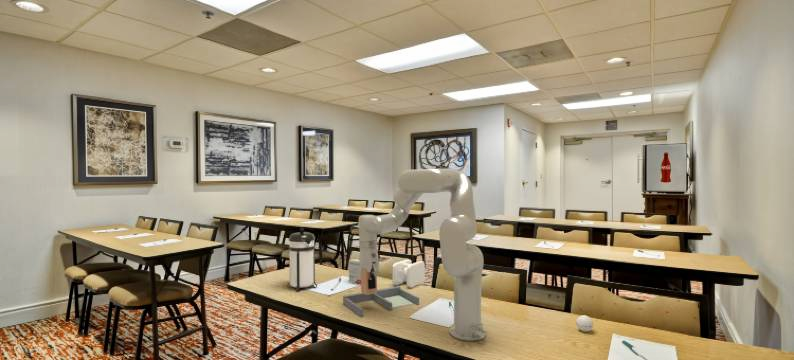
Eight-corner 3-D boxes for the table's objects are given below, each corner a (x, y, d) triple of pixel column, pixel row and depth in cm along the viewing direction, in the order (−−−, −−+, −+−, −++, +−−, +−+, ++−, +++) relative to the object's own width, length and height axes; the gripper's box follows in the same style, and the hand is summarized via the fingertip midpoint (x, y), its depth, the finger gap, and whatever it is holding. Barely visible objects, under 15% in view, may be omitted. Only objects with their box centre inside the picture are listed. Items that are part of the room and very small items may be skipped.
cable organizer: (408, 290, 189) (408, 266, 189) (391, 286, 196) (391, 263, 195) (425, 283, 201) (425, 260, 201) (408, 279, 208) (408, 258, 207)
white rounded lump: (578, 326, 144) (578, 311, 144) (594, 330, 140) (595, 315, 140) (572, 333, 138) (572, 317, 138) (589, 337, 134) (589, 321, 134)
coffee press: (322, 283, 201) (321, 225, 200) (311, 292, 185) (310, 230, 185) (290, 281, 204) (290, 225, 203) (276, 291, 188) (276, 229, 187)
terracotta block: (377, 292, 163) (376, 269, 163) (366, 294, 161) (365, 270, 161) (371, 290, 168) (371, 266, 168) (361, 291, 165) (360, 268, 165)
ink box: (367, 282, 201) (367, 260, 201) (361, 285, 197) (361, 262, 197) (354, 280, 206) (354, 258, 206) (348, 282, 202) (348, 260, 202)
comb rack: (419, 304, 168) (419, 296, 168) (360, 316, 154) (360, 308, 154) (398, 293, 184) (398, 286, 184) (343, 303, 170) (343, 295, 170)
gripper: (385, 246, 159) (386, 290, 159) (367, 240, 173) (368, 281, 173) (369, 248, 155) (369, 293, 155) (351, 242, 169) (352, 283, 170)
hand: (368, 286), depth 164 cm, fingers closed on terracotta block, 5 cm apart
